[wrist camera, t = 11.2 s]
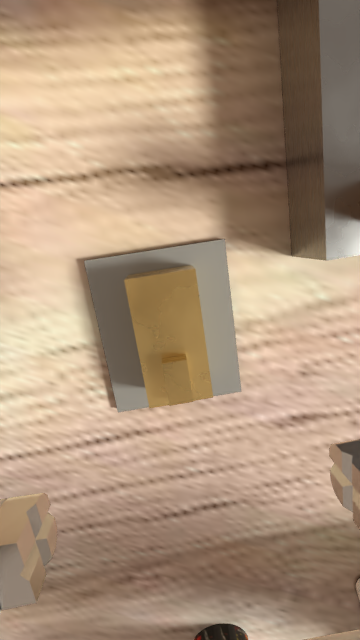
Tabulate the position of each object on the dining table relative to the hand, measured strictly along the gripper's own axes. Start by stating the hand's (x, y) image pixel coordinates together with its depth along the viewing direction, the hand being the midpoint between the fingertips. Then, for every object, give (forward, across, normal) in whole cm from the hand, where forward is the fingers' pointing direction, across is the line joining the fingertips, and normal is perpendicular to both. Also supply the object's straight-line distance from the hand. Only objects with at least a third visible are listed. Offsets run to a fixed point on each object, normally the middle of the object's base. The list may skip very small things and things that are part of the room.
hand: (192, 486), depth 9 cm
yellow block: (+15, 0, +1) cm, 15 cm away
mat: (+16, 0, +1) cm, 16 cm away
